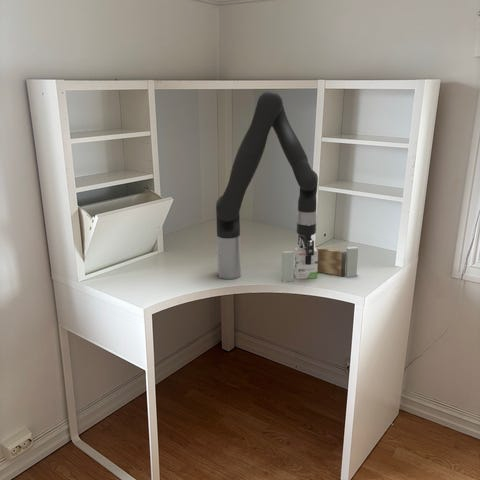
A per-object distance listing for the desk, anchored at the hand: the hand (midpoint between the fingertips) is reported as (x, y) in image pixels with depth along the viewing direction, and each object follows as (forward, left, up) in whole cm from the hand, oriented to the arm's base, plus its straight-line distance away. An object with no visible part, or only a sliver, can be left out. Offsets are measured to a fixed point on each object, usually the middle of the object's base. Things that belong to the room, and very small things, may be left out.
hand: (305, 260), depth 197 cm
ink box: (0, 0, -7) cm, 7 cm away
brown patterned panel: (+8, +3, -7) cm, 11 cm away
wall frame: (+5, -3, -7) cm, 9 cm away
